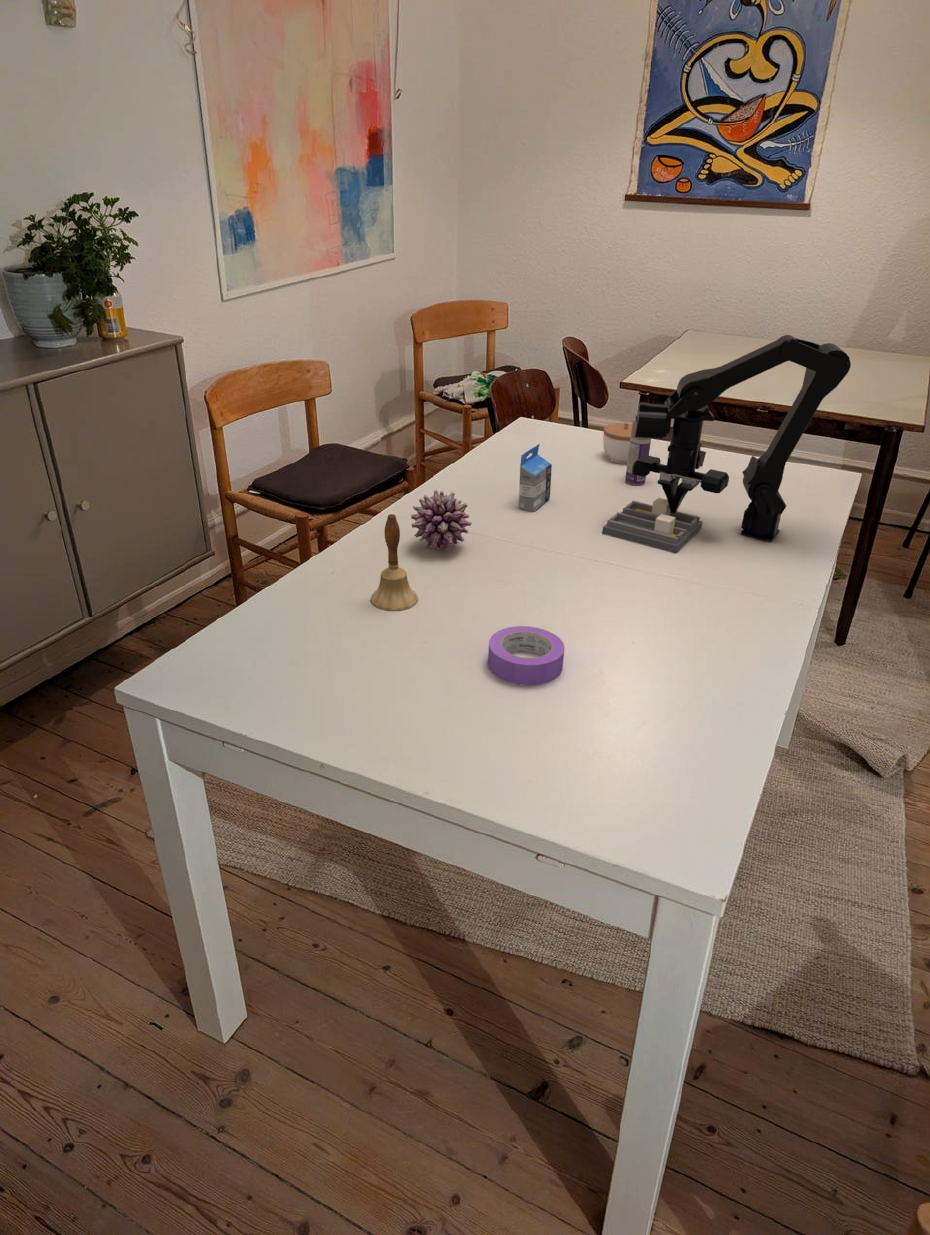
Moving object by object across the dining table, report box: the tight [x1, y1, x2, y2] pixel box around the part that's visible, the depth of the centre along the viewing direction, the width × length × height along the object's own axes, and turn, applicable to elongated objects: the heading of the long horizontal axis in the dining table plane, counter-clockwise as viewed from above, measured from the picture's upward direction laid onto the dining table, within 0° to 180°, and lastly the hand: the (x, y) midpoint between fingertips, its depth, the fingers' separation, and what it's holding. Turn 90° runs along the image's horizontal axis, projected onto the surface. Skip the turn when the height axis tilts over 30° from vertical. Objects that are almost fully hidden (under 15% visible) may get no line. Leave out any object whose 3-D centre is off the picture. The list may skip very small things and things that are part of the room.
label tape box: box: [518, 443, 553, 512], centre depth 190 cm, size 9×4×12 cm, turn 151°
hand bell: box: [370, 513, 419, 612], centre depth 149 cm, size 8×8×16 cm
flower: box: [410, 489, 473, 552], centre depth 169 cm, size 12×12×12 cm
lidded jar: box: [602, 422, 633, 465], centre depth 217 cm, size 11×11×9 cm
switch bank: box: [601, 500, 703, 554], centre depth 181 cm, size 16×15×3 cm
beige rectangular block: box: [651, 497, 671, 516], centre depth 183 cm, size 3×3×4 cm
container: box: [624, 417, 652, 487], centre depth 202 cm, size 5×5×15 cm
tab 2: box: [654, 514, 676, 535], centre depth 176 cm, size 3×3×4 cm
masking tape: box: [487, 625, 565, 686], centre depth 135 cm, size 12×12×4 cm
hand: (673, 512), depth 182 cm, fingers closed
